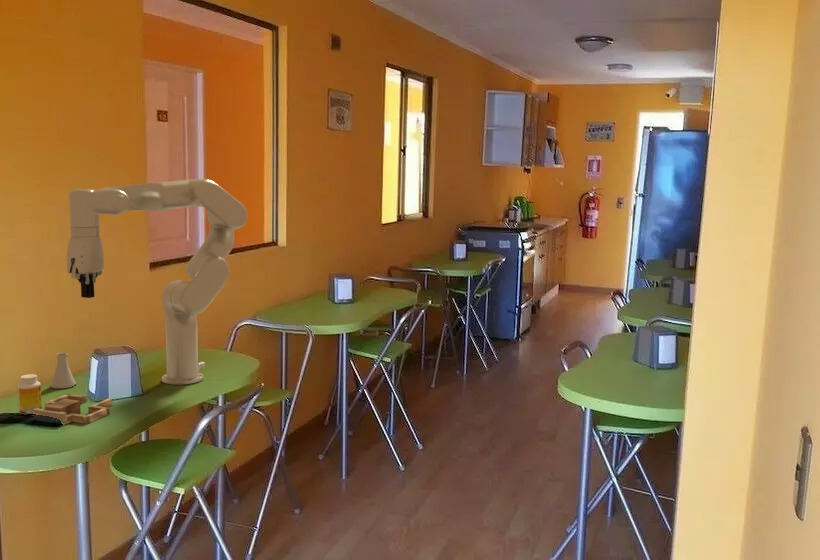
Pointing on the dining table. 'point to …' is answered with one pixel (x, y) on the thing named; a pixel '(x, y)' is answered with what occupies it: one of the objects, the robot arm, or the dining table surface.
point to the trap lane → (95, 410)
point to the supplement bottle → (29, 394)
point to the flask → (62, 373)
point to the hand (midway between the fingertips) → (87, 297)
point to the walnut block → (65, 406)
